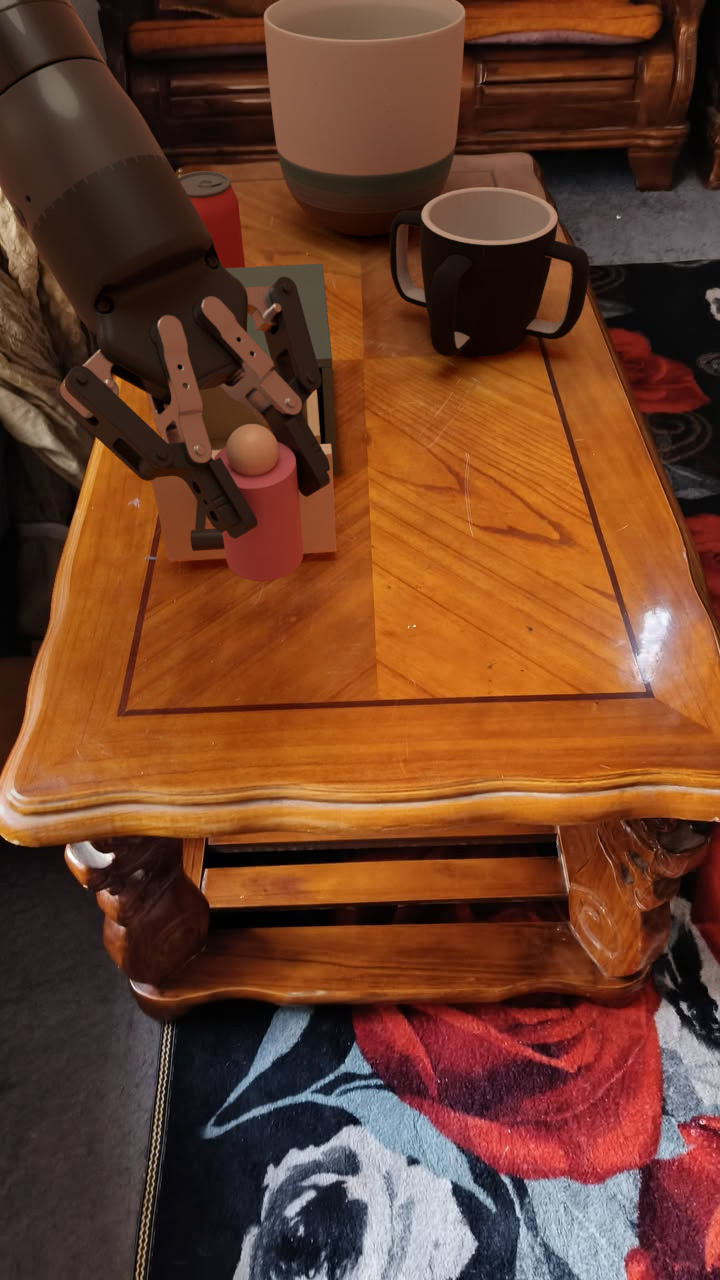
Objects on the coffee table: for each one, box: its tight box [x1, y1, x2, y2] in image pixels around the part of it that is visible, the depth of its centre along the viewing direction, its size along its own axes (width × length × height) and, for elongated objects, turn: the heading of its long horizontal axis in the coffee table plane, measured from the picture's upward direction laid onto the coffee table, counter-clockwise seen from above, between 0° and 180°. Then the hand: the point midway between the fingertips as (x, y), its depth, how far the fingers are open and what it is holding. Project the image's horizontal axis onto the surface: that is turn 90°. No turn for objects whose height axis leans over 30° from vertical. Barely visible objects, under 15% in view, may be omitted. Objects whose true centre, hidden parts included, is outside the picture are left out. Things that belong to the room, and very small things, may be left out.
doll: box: [214, 424, 304, 582], centre depth 49 cm, size 4×4×8 cm
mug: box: [389, 186, 591, 358], centre depth 89 cm, size 16×16×12 cm
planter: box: [263, 0, 466, 237], centre depth 104 cm, size 20×20×21 cm
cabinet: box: [225, 263, 338, 474], centre depth 80 cm, size 16×14×11 cm
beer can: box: [177, 170, 246, 268], centre depth 95 cm, size 7×7×12 cm
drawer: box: [151, 386, 337, 563], centre depth 71 cm, size 19×12×9 cm, turn 4°
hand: (282, 509), depth 48 cm, fingers closed on doll, 4 cm apart
